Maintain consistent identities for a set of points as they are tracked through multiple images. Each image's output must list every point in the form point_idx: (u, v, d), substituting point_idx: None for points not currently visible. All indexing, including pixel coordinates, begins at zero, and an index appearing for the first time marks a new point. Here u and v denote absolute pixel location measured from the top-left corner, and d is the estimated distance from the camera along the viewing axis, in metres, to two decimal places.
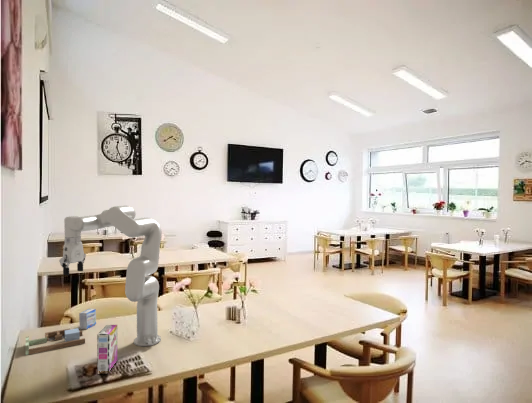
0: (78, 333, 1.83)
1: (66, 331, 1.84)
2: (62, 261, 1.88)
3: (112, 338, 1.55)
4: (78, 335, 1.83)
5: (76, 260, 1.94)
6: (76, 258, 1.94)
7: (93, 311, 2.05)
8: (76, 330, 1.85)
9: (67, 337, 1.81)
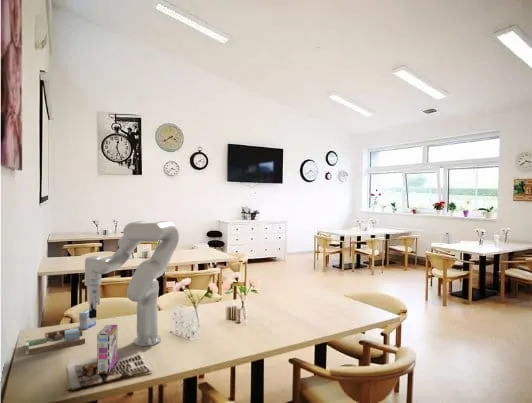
0: (78, 333, 1.83)
1: (66, 331, 1.84)
2: None
3: (112, 338, 1.55)
4: (78, 335, 1.83)
5: None
6: None
7: None
8: (76, 330, 1.85)
9: (67, 337, 1.81)
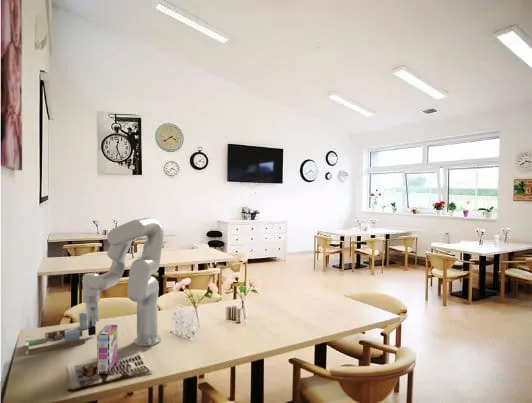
0: (78, 333, 1.83)
1: (66, 331, 1.84)
2: (94, 324, 1.85)
3: (112, 338, 1.55)
4: (78, 335, 1.83)
5: None
6: None
7: None
8: (76, 330, 1.85)
9: (67, 337, 1.81)
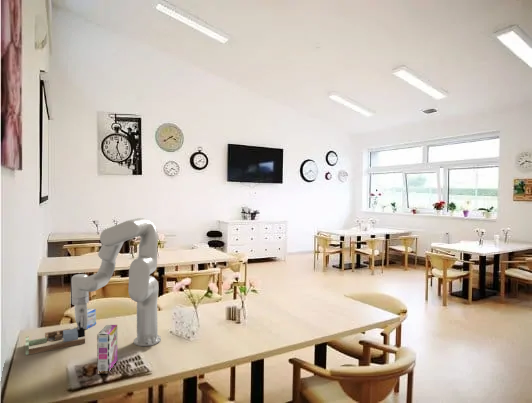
0: (77, 333, 1.83)
1: (64, 331, 1.84)
2: (83, 326, 1.83)
3: (112, 338, 1.55)
4: (76, 335, 1.83)
5: None
6: None
7: (93, 311, 2.05)
8: (74, 330, 1.85)
9: (65, 337, 1.80)
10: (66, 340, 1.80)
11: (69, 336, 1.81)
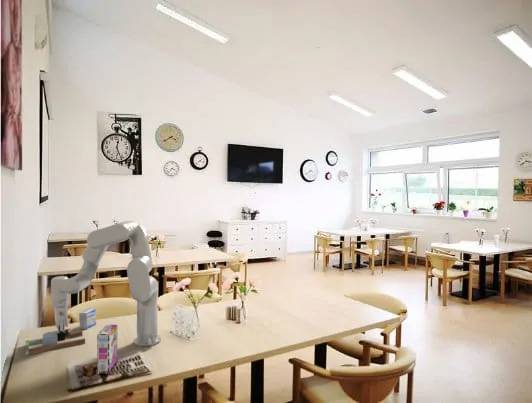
0: (56, 337, 1.78)
1: (44, 335, 1.79)
2: (63, 329, 1.78)
3: (112, 338, 1.55)
4: (56, 339, 1.78)
5: None
6: None
7: (93, 311, 2.05)
8: (54, 334, 1.80)
9: (44, 341, 1.76)
10: (45, 344, 1.76)
11: (48, 340, 1.76)
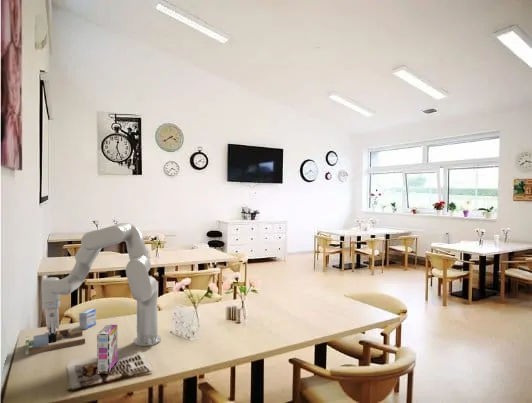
0: (47, 339, 1.76)
1: (35, 337, 1.77)
2: (53, 331, 1.76)
3: (112, 338, 1.55)
4: (47, 341, 1.76)
5: None
6: None
7: (93, 311, 2.05)
8: (45, 336, 1.78)
9: (35, 343, 1.73)
10: (36, 346, 1.74)
11: (39, 342, 1.74)
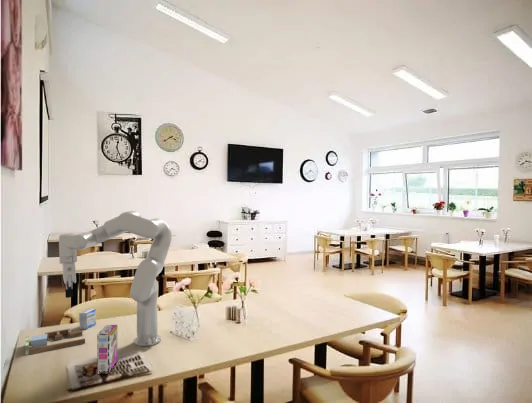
0: (45, 339, 1.76)
1: (33, 337, 1.77)
2: (71, 285, 1.80)
3: (112, 338, 1.55)
4: (45, 341, 1.76)
5: None
6: None
7: (93, 311, 2.05)
8: (44, 336, 1.78)
9: (33, 343, 1.73)
10: (34, 346, 1.73)
11: (37, 342, 1.74)
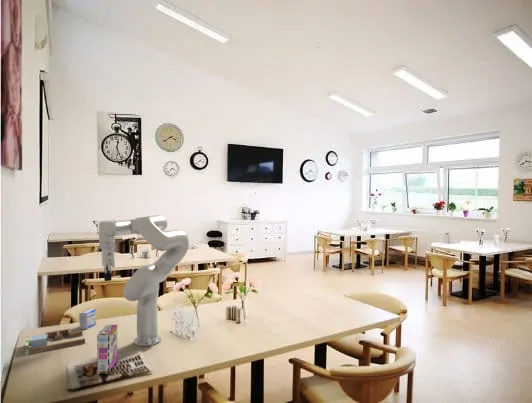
0: (45, 339, 1.76)
1: (33, 337, 1.77)
2: None
3: (112, 338, 1.55)
4: (45, 341, 1.76)
5: None
6: None
7: (93, 311, 2.05)
8: (44, 336, 1.78)
9: (33, 343, 1.73)
10: (34, 346, 1.73)
11: (37, 342, 1.74)
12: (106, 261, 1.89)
